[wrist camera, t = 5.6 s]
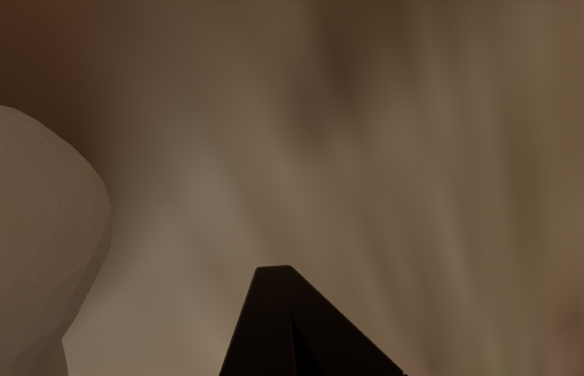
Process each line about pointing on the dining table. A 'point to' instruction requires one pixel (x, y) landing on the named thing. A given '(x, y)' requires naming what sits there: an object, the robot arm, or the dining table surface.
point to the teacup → (45, 242)
